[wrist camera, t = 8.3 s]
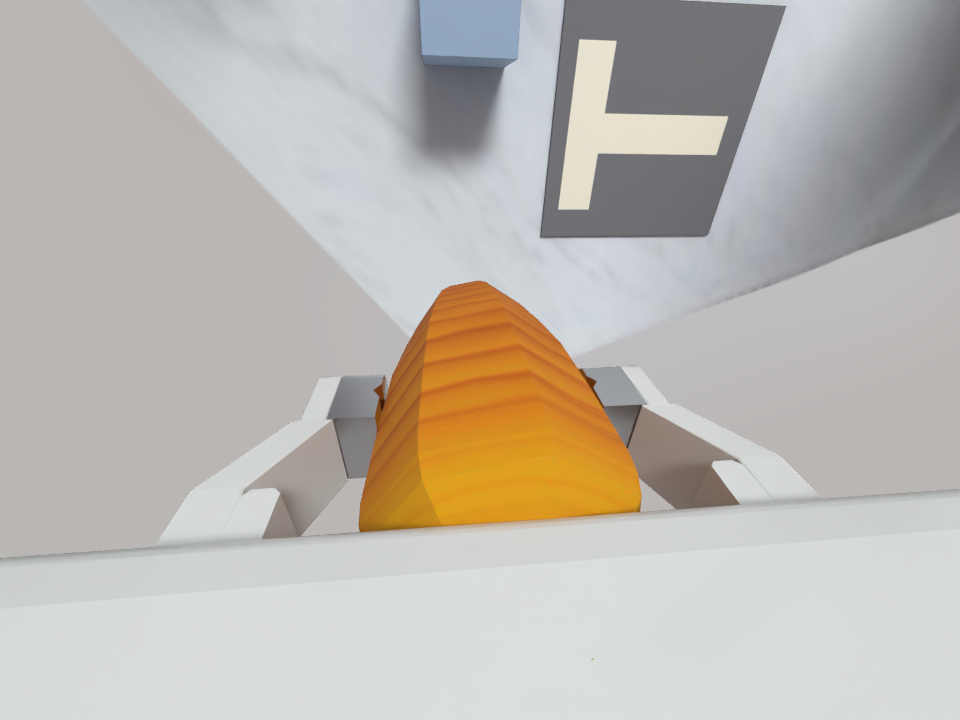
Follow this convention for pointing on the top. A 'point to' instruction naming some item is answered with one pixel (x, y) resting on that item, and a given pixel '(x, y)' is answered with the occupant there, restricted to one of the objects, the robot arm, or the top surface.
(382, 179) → the top surface
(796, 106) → the top surface
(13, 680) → the robot arm
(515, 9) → the slate cube
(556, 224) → the letter mat
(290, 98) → the top surface
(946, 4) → the top surface
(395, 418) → the carrot
